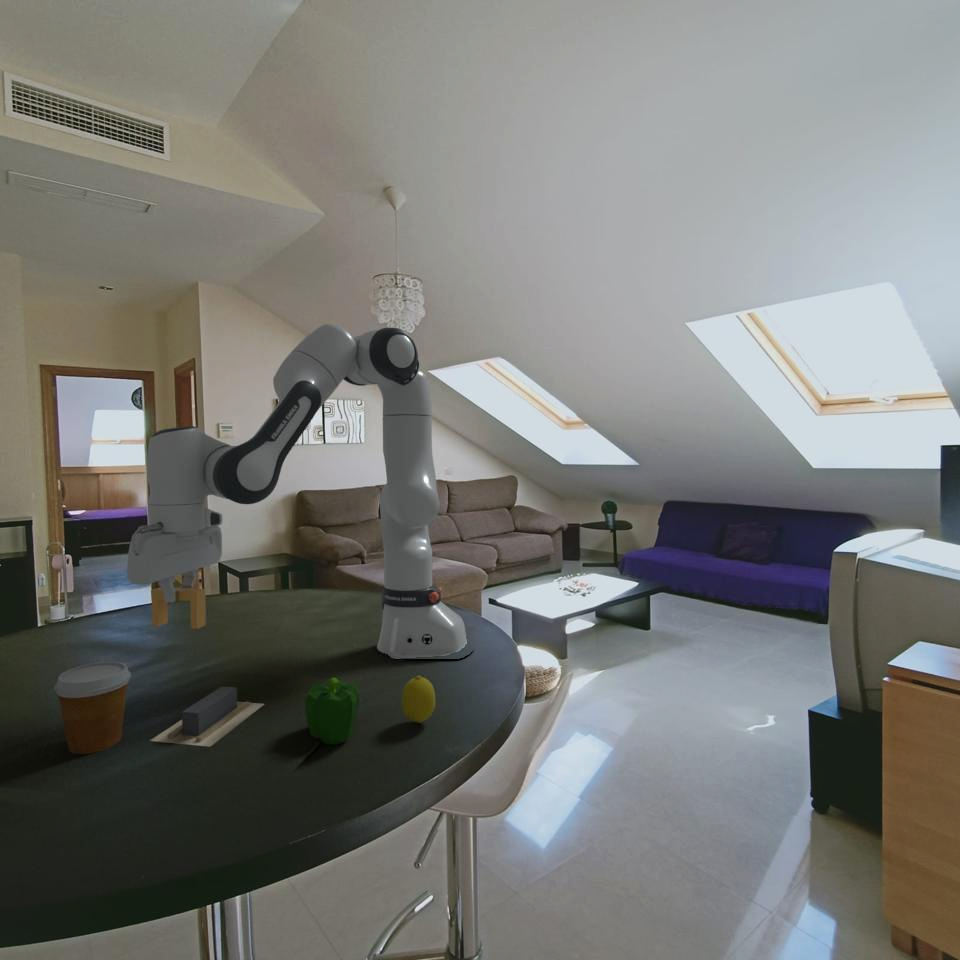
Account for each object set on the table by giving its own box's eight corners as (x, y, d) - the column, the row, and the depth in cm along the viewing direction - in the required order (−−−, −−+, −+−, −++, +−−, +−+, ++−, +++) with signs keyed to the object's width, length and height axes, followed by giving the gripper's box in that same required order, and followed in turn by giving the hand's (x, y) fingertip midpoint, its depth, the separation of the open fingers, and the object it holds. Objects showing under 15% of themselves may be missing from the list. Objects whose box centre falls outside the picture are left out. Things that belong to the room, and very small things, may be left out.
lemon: (421, 734, 92) (421, 685, 92) (394, 726, 95) (394, 677, 95) (442, 721, 97) (442, 674, 97) (415, 713, 100) (415, 667, 100)
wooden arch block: (205, 624, 103) (205, 588, 103) (197, 628, 100) (196, 592, 100) (161, 622, 104) (161, 586, 104) (152, 626, 102) (151, 589, 102)
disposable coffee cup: (40, 760, 85) (38, 678, 84) (103, 731, 93) (101, 657, 93) (86, 773, 81) (84, 688, 81) (147, 741, 90) (145, 665, 90)
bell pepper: (310, 726, 95) (310, 665, 95) (362, 724, 96) (361, 664, 95) (298, 752, 87) (298, 686, 87) (354, 750, 88) (354, 684, 87)
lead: (237, 708, 99) (236, 687, 99) (198, 736, 89) (198, 713, 89) (222, 707, 100) (221, 686, 99) (182, 734, 90) (182, 711, 90)
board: (264, 710, 101) (264, 700, 101) (210, 754, 86) (209, 742, 86) (212, 706, 103) (212, 696, 103) (150, 748, 88) (149, 736, 88)
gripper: (150, 527, 91) (153, 615, 91) (227, 514, 111) (229, 586, 112) (114, 526, 92) (117, 614, 92) (197, 513, 112) (199, 585, 113)
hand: (179, 598), depth 102 cm, fingers closed on wooden arch block, 2 cm apart
